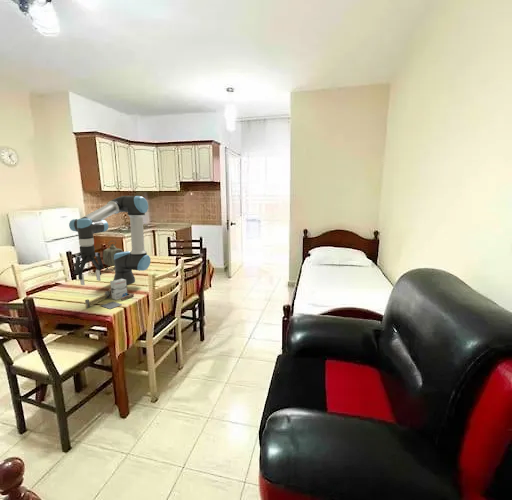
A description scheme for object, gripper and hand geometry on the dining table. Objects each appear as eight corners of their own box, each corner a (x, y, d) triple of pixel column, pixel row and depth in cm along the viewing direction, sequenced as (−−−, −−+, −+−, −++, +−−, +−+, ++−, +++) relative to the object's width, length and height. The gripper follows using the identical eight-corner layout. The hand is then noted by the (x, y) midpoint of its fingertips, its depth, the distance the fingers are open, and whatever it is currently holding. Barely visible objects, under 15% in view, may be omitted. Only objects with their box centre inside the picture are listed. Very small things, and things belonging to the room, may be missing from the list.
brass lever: (110, 296, 199) (110, 290, 198) (88, 307, 180) (87, 300, 180) (107, 296, 199) (106, 289, 198) (84, 307, 181) (83, 300, 180)
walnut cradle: (119, 292, 208) (119, 285, 207) (133, 296, 201) (133, 289, 199) (102, 298, 197) (101, 291, 196) (116, 302, 190) (115, 295, 189)
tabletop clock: (119, 266, 275) (117, 238, 270) (125, 267, 270) (123, 240, 265) (104, 269, 264) (101, 241, 258) (109, 271, 258) (107, 242, 253)
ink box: (123, 294, 204) (122, 278, 201) (127, 296, 201) (126, 279, 198) (111, 298, 197) (109, 281, 195) (115, 300, 194) (113, 282, 192)
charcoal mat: (112, 301, 191) (112, 301, 191) (122, 304, 187) (122, 304, 187) (101, 306, 184) (101, 305, 184) (110, 309, 180) (110, 308, 180)
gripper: (100, 241, 186) (104, 276, 191) (63, 247, 168) (68, 286, 173) (108, 243, 183) (111, 278, 187) (71, 249, 164) (75, 288, 169)
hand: (90, 282), depth 180 cm, fingers open, 9 cm apart
